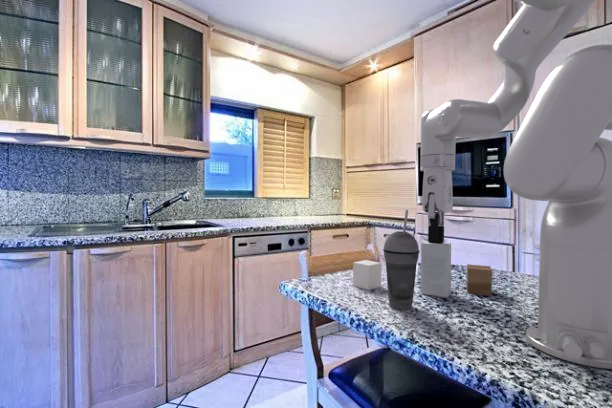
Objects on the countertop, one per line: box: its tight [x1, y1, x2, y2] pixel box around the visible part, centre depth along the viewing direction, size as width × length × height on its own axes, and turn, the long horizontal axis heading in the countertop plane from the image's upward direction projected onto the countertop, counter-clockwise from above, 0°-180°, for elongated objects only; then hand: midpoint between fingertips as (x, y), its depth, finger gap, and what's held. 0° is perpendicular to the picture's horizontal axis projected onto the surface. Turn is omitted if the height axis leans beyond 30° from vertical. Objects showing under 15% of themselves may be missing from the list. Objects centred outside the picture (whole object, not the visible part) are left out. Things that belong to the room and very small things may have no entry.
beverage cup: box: [383, 209, 421, 311], centre depth 68 cm, size 7×7×20 cm
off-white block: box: [352, 259, 382, 291], centre depth 83 cm, size 5×5×6 cm
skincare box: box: [420, 241, 452, 299], centre depth 77 cm, size 6×4×12 cm
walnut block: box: [466, 264, 493, 297], centre depth 79 cm, size 5×5×6 cm
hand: (435, 242), depth 77 cm, fingers closed
